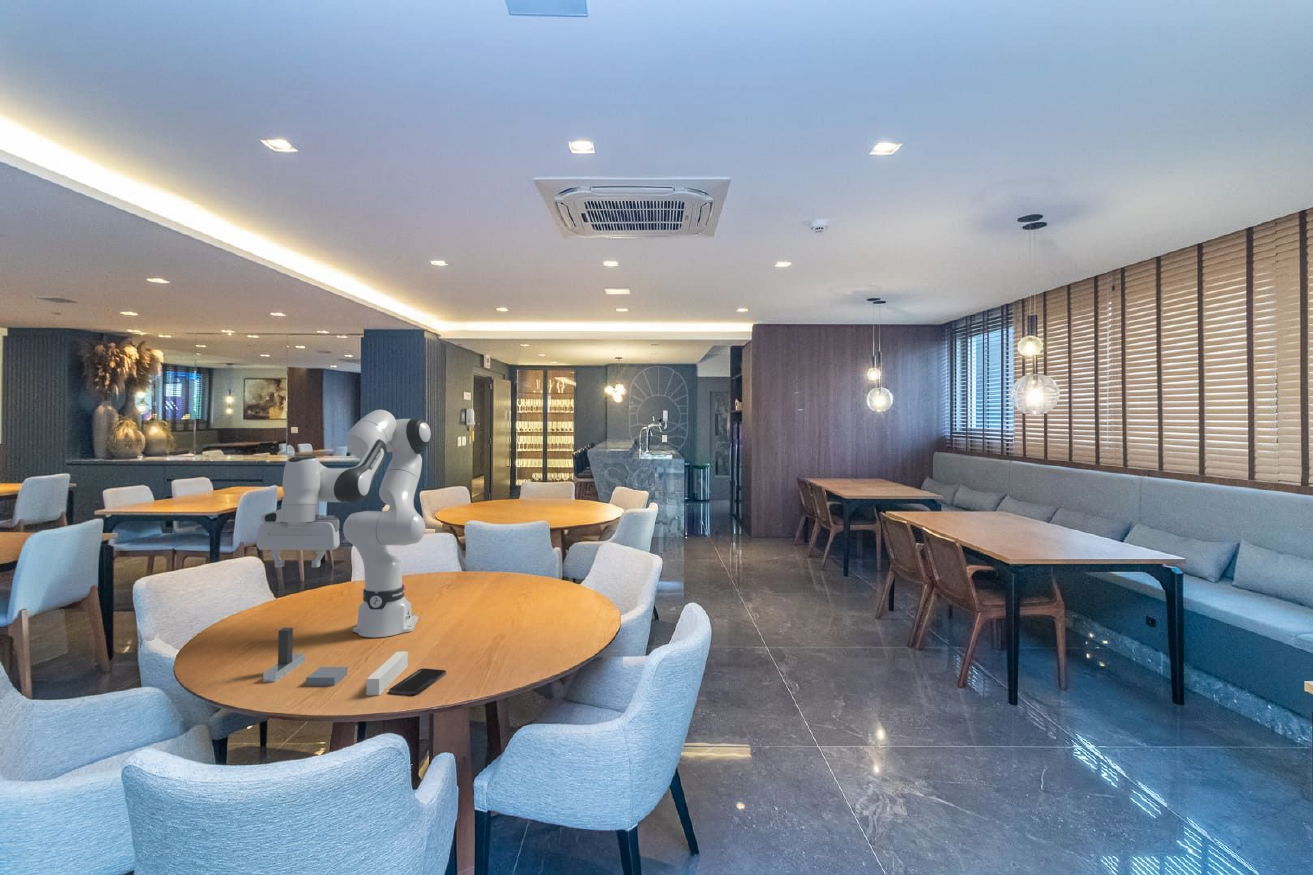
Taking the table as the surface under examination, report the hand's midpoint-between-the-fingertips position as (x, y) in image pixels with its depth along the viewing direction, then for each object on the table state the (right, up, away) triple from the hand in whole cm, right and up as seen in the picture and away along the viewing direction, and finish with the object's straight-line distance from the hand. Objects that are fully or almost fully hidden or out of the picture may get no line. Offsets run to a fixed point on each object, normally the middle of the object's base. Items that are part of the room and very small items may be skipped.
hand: (297, 566), depth 160 cm
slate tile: (+11, -28, -6) cm, 31 cm away
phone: (+35, -29, -7) cm, 46 cm away
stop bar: (+27, -28, -5) cm, 39 cm away
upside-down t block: (-3, -28, -1) cm, 28 cm away
